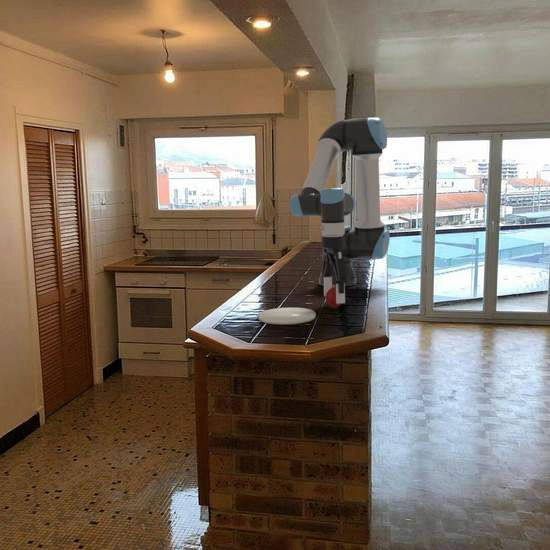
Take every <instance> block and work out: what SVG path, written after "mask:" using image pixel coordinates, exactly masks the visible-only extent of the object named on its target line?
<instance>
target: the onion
mask: <svg viewBox="0 0 550 550" xmlns="http://www.w3.org/2000/svg"><path fill="white" fill-rule="evenodd" d="M325 301H326V303H327V304H328V305H329V306H330V307H332V309H337V308H338V307H339V306H340V305H342V303H339V304H337V303H336V286H335V285H332V288H331V289H329V290H328V292H327V293H326V296H325Z"/></svg>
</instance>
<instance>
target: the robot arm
mask: <svg viewBox="0 0 550 550" xmlns="http://www.w3.org/2000/svg"><path fill="white" fill-rule="evenodd" d="M387 134H388V133H387V130H386V126H385V123H384V122H383V119H382V118H379V117H365V118H363V117H362V118H355V119H354V118H352V119H351V118H350V119H342V120H341V119H340V120H338V121H336V122H334V123H332V124H331V125H330V126H328V127H327V128H326V129H325V130H324V131H323V132H322V134H321V135H320V137H319V138H318V141H317V143H316V146H315V148H316V153H315V155H314V158H313V160H312V163H311V166H310V167H309V170H308V173H307V176H306V178H305V181H304V184H303V186H302V189H301V191H300V194H299V193H297V194H293V195H291V197H290V199H289V210H290V213H291V215H292V216H294V217H296V216H297V217H321V219H320V220H321V222H320V223H321V226H320V227H319V228H320V229H321V236H322V237H321V248H322V266H321V271H320V276H319V278H318V284H319V285H320V286H321V287H323V296H324V297H326V293H327V292H328V290H329V289H331V288H332V285H335V286H336V303H337V304H339V303H341V304H346V287H350V286H354V285H357V276H356V273H355V269H354V267H353V263H352V262H353V261H352V260H358V259H359V260H373V261H374V260H381V259H384V258H385V257H386V256H387V254H388V251H389V245H390V237H391V235H390V231H389V230H388V229H387V228H385V223H384V222H383V221H381V197H380V196H381V195H380V194H381V193H380V191H381V190H380V165H379V164H380V161H379V160H380V157H381V156H382V155H383V150H384V149H387V146H388V135H387ZM348 151H350V152H351V156H352V157H353V158H354V159H355V170H356V192H357V193H356V195H357V196H356V197H357V203H356V199H355V197H354V196H353V195H352V194H350V193H347V192H344V189H343V188H342V187H333V188H332V187H330V188H327V187H326V185H327V183H328V181H329V178H330V174H331V172H332V169H333V167H334V163H335V161H336V159H337V158H338V157H339V156H340V154H341V153H342V152H348ZM356 206H357V218H358V219H357V220H358V221H357V223H356V224H355V225H354V229H353V228H352V226H351V225H346V224H345V216H346V217H347V216H349V215H350V214H352V213H353V212H354V210H355V209H356Z"/></svg>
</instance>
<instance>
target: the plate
mask: <svg viewBox="0 0 550 550" xmlns="http://www.w3.org/2000/svg"><path fill="white" fill-rule="evenodd" d="M316 316H317V315H316V311H315V310H312V309H309V308H305V307H278V308H271V309H267V310H263V311H260V312H259V313H258V321H259V322H262V323H264V324H268V325H296V324H302V323H308V322H311V321H313V320H315V319H316V318H317V317H316Z"/></svg>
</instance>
